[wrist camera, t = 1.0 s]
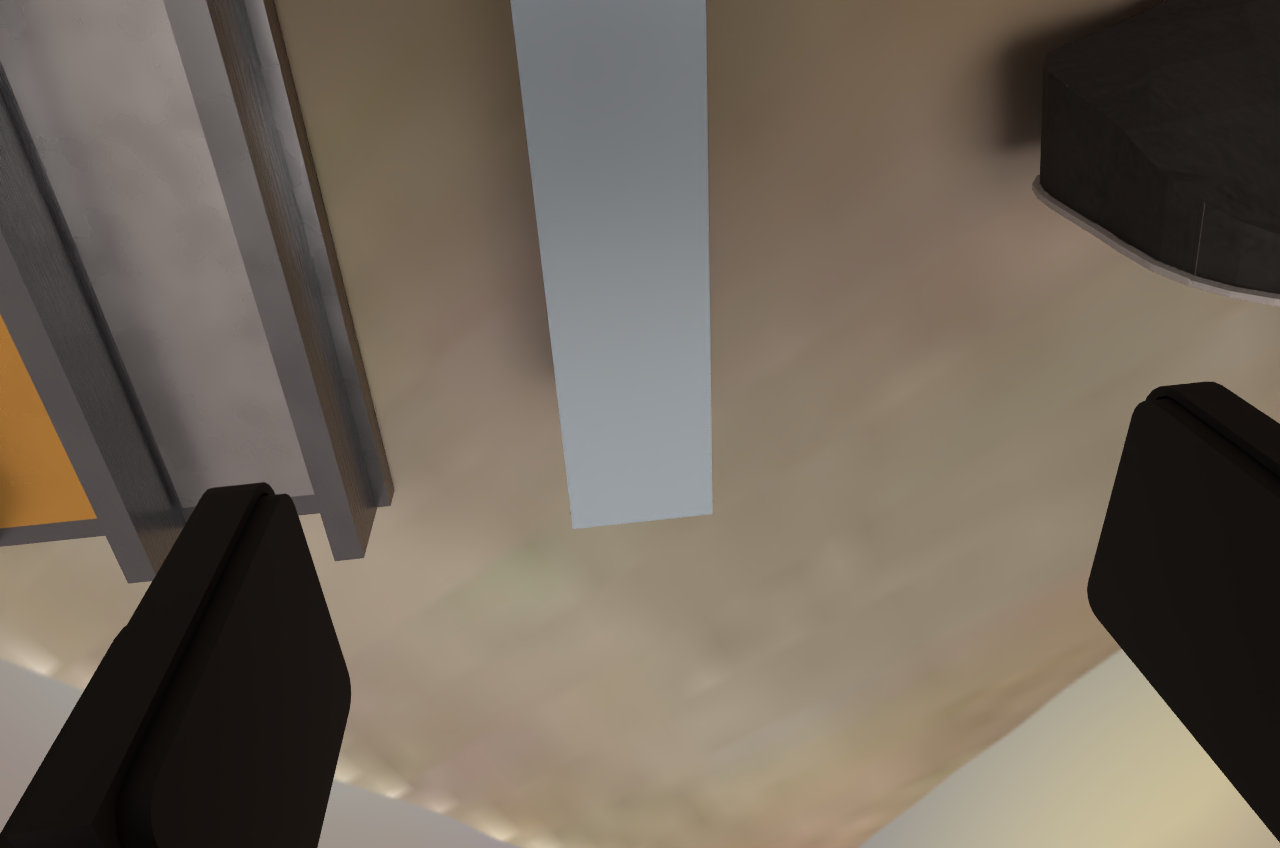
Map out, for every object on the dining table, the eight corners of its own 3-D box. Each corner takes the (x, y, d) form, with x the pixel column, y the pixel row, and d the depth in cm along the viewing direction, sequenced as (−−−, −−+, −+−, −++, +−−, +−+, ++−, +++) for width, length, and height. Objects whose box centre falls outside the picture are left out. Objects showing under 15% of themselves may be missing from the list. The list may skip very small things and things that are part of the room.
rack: (-443, -170, 21) (-630, -184, 18) (222, -205, 22) (166, -225, 19) (-34, 534, 33) (-100, 608, 29) (394, 490, 34) (378, 556, 30)
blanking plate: (495, -219, 23) (477, -283, 15) (645, -227, 23) (702, -293, 15) (563, 380, 32) (572, 529, 24) (669, 369, 32) (712, 513, 25)
